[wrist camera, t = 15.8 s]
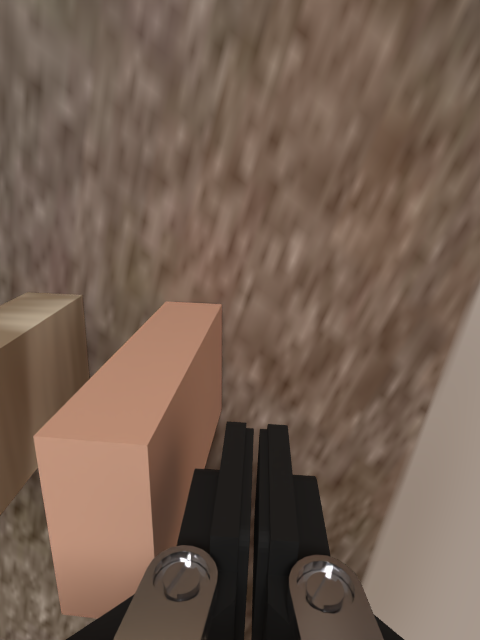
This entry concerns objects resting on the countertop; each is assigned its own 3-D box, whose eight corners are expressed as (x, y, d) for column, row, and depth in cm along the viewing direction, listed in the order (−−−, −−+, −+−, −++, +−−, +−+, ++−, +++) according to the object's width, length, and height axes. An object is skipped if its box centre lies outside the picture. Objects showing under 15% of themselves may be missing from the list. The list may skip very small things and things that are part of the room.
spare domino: (170, 405, 20) (61, 613, 10) (165, 301, 18) (32, 436, 9) (221, 409, 20) (158, 625, 10) (221, 304, 18) (146, 445, 9)
